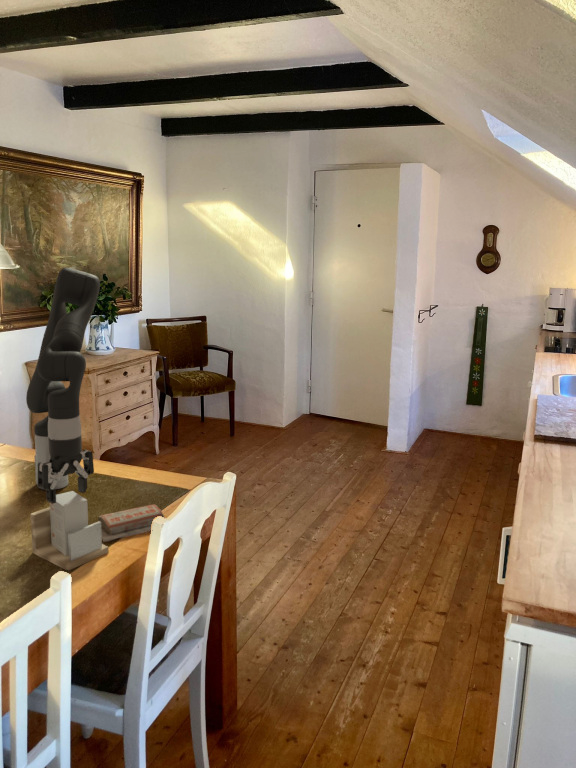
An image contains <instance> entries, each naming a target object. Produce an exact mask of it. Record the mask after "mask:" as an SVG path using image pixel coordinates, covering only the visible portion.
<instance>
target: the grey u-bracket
mask: <svg viewBox="0 0 576 768" xmlns="http://www.w3.org/2000/svg"><path fill="white" fill-rule="evenodd" d="M30 528H31V544H32V545H31V546H32V554H34V555H36V556H37V557H39V558H41V559H44V560H45V561H48V562H50V563H52V564H53V565H55V566H57V567H60V568H61V569H63V570H65V571H67V570H68V571H70V570H73V569H75V568H77V567H79V566H81V565H84V564H86V563H89V562H91V561H93V560H95V559H96V558H99V557H101V556H104V555H106V554H108V553H109V552H110V551H109V546H108V545H105V544H104V543H102V548H101V549H99V550H97V551H95V552H92V553H90V554H88V555H86V556H83V557H81V558H79V559H77V560H74V561H72V562H70V561H69V555H68V556H65V555H64V554H63V553H62V552H60V551H59V550H58V549H56V548H55V547H54V546H53V545H52V540H51V520H50V506H48V507H47V508H46V507H45V508H43V509H40V510H37V511H35V512H32V513H30ZM68 571H67V572H68Z"/></svg>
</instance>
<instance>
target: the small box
mask: <svg viewBox="0 0 576 768" xmlns="http://www.w3.org/2000/svg"><path fill="white" fill-rule="evenodd" d="M49 507H50V520H51V540H52V545H53V546H54V547H55V548H56V549H58V550H59V551H60V552H62V553H63V554H64V555H65V556H68V555H69V547H68V534H69V533H71V532H74V531H76V530H79V529H81V528H84V527H86V526H88V525H89V510H88V499H86V498H85V497H84V496H82V495H80V494H79V493H77V492H76V491H74V490H70V491H67V492H66V491H65V492H63V493H57V494H56V503H54V504H52V503H50V502H49Z"/></svg>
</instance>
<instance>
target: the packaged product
mask: <svg viewBox="0 0 576 768" xmlns="http://www.w3.org/2000/svg"><path fill="white" fill-rule="evenodd" d="M157 516H162V517H164V518H165V515H164V513H163V511H162V509H160V508H159V506H158V505H156V504H154V503H153V504H148V505H145V506H138V507H133V508H130V509H129V508H128V509H124V510H119V511H116V512H111V513H106V514H102V515H99V516H98V519H97V520H98V521H100V522H101V533H102V543H103V542H110V541H114V540H117V539H122V538H126V537H131V536H135V535H140V533H141V534H143V533H144V532H145V533H148V532H151V531H150V530H151V524H152V521H153V519H154V518H155V517H157ZM91 524H93V523H91ZM147 531H148V532H147Z"/></svg>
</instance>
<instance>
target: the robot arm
mask: <svg viewBox="0 0 576 768" xmlns="http://www.w3.org/2000/svg"><path fill="white" fill-rule="evenodd" d="M100 287H101V279H100V278H99V277H98V276H97V275H95V274H92V273H88V272H86V271H81V270H78V269H75V268H72V267H63V268H61V269H60V271H59V272H58V274H57V277H56V280H55V285H54V289H53V290H54V291H53V296H52V301H51V307H50V312H49V317H48V321H47V324H46V326H45V330H44V332H43V333H44V334H43V337H42V340H41V346H40V350H39V354H38V360H37V362H36V367H35V369H34V372H33V374H32V377H31V379H30V381H29V384H28V387H27V391H26V398H25V399H26V406H27V408H28V410H29V411H30V412H32V413H34V414H45V413H48V414H47V416H45V417H44V418H43V419H40V420H39V421H37V423H35V424H34V430H33V433H34V443H35V444H34V445H35V446H34V448H35V450H34V451H35V455H34V468H35V469H34V470H35V484H36V485H37V487H38V489H40V490H45V495H46V500H47V502H48V503H49V504H50V503H52V504H54V503H56V495H57V492H56V491H57V490H59V489H62V488H65V487H67V486H68V485H69V475H72V474H76V475H77V476H78V477H77V490H78V492H80V493H81V494H84V493H86V492H87V490H88V478H89V476H90V475H93V474H94V472H95V468H94V467H95V465H94V456H93V452H92V451H91V450H88V449H83V443H82V441H83V440H82V439H83V438H82V422H81V413H80V395H81V387H82V383H83V379H84V377H85V372H86V368H87V361H86V358H85V357H84V355H83V354H82V353H81V351H82V348H83V344H84V339H85V333H86V329H87V326H88V323H89V321H90V320H91V318H92V314H93V312H94V309H95V307H96V304H97V300H98V298H99V294H100V290H101V289H100ZM66 304H70V305H74V306H77V307H76V308H75V309H73V310H71V311H69V312H67V308H66V307H67V306H66ZM63 382H69V385H68V386H67V387H66V386H65V385H64V383H63ZM81 461H82V463H83V466H82V465H81Z"/></svg>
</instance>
